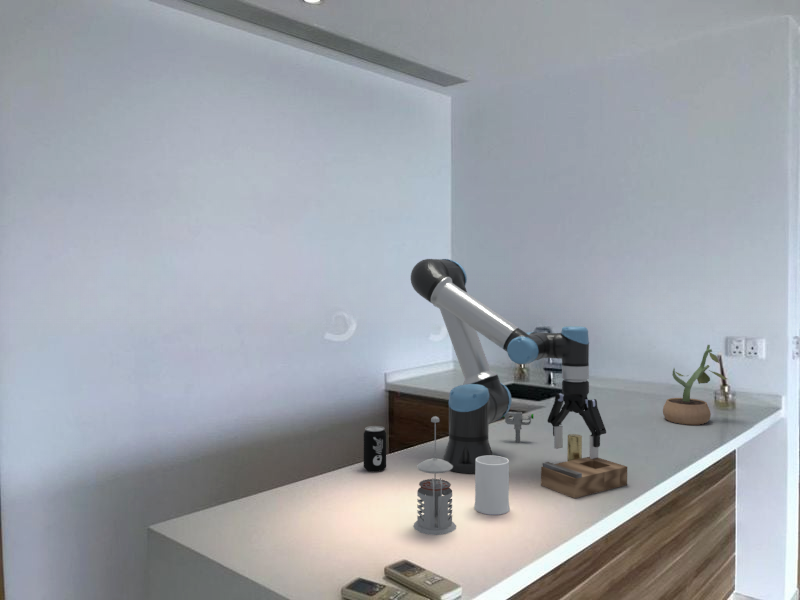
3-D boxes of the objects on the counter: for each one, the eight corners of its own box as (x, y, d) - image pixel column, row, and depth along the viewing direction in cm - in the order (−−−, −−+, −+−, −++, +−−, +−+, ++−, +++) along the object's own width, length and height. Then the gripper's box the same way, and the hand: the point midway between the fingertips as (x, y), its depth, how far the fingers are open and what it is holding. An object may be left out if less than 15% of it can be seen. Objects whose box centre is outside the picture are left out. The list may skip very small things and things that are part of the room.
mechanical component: (533, 444, 218) (533, 414, 217) (502, 442, 220) (502, 413, 219) (533, 441, 221) (533, 412, 220) (502, 440, 223) (502, 411, 222)
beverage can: (366, 473, 186) (366, 431, 185) (361, 466, 192) (361, 426, 192) (388, 471, 188) (388, 430, 187) (383, 465, 194) (383, 425, 193)
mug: (492, 496, 167) (493, 450, 166) (522, 504, 161) (523, 456, 161) (467, 509, 158) (467, 460, 157) (497, 518, 152) (498, 467, 152)
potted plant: (659, 423, 247) (661, 345, 246) (665, 414, 263) (666, 340, 262) (726, 430, 237) (728, 348, 236) (727, 420, 253) (729, 343, 252)
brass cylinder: (574, 472, 187) (575, 438, 186) (564, 469, 190) (564, 435, 190) (584, 470, 189) (584, 436, 188) (574, 467, 192) (574, 433, 192)
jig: (574, 498, 165) (574, 475, 165) (541, 485, 176) (541, 463, 175) (627, 484, 176) (627, 462, 176) (592, 473, 186) (592, 452, 186)
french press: (453, 517, 152) (454, 411, 151) (460, 537, 141) (460, 423, 140) (411, 518, 152) (412, 411, 151) (414, 538, 140) (415, 423, 139)
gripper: (619, 384, 180) (619, 460, 180) (553, 374, 201) (553, 442, 201) (600, 386, 176) (600, 464, 176) (535, 376, 197) (535, 445, 198)
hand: (575, 453), depth 189 cm, fingers open, 13 cm apart
